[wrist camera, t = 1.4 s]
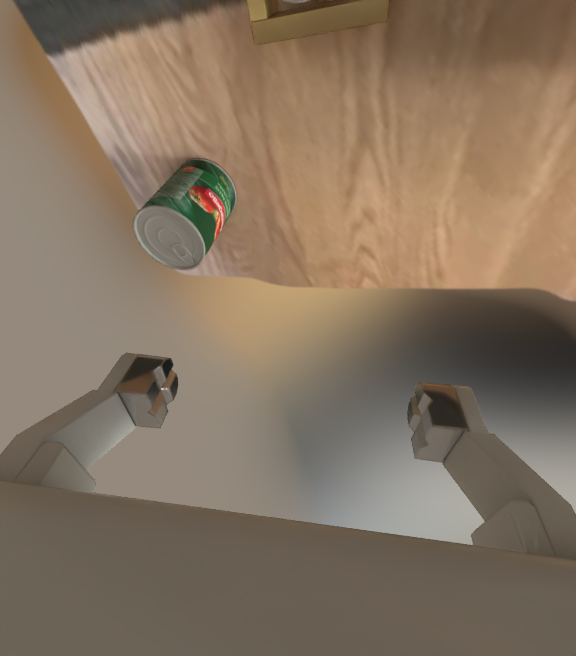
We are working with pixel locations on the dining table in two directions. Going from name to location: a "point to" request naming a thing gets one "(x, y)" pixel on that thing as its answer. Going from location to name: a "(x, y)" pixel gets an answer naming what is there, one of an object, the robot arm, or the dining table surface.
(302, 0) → the lightbulb
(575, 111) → the dining table surface
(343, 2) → the rack
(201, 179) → the canned tomato
